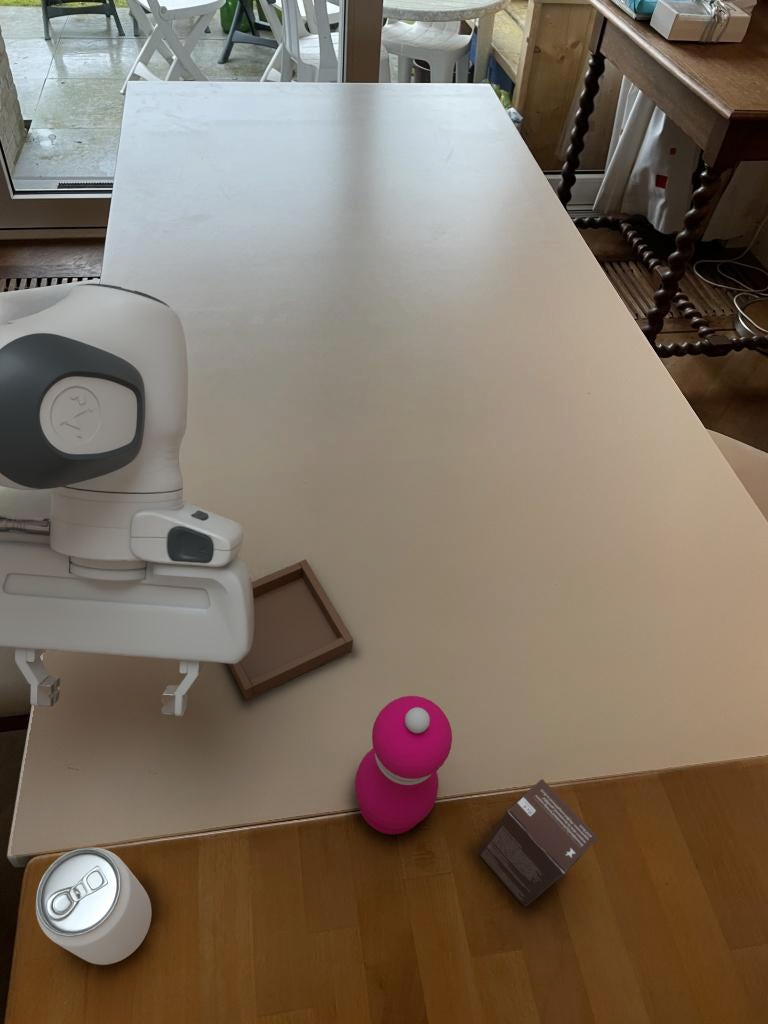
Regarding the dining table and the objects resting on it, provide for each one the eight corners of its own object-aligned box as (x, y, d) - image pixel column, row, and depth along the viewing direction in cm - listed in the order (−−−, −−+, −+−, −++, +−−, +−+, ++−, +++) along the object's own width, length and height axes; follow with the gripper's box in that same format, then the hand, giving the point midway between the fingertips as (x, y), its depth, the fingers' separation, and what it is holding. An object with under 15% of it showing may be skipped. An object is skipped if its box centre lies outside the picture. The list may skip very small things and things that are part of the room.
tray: (246, 700, 76) (245, 690, 74) (204, 614, 81) (201, 602, 79) (352, 650, 80) (353, 639, 78) (305, 571, 85) (305, 559, 83)
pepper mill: (445, 816, 71) (489, 737, 55) (376, 856, 68) (400, 785, 52) (406, 746, 74) (435, 652, 58) (338, 781, 72) (349, 694, 56)
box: (558, 872, 69) (601, 837, 59) (523, 909, 67) (562, 879, 57) (509, 817, 71) (542, 775, 62) (474, 851, 69) (503, 813, 60)
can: (55, 913, 64) (12, 882, 54) (128, 860, 66) (99, 822, 57) (93, 985, 61) (55, 966, 51) (167, 927, 64) (144, 898, 54)
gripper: (-55, 519, 52) (-57, 715, 54) (252, 544, 53) (239, 736, 55) (-11, 505, 59) (-14, 681, 61) (263, 528, 59) (251, 701, 62)
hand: (109, 708), depth 58 cm, fingers open, 8 cm apart
